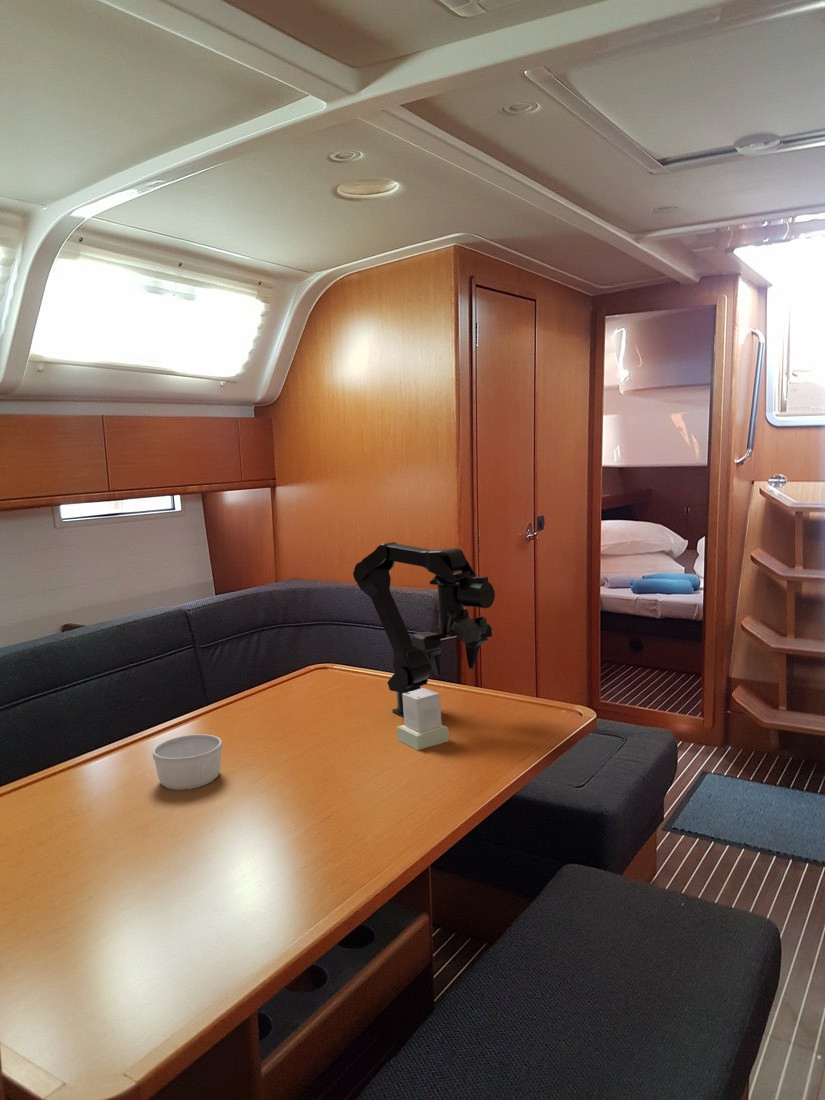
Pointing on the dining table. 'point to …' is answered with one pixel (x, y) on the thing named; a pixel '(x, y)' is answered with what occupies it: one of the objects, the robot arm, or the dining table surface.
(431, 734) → the base block
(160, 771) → the ramekin
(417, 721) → the skincare box
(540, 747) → the dining table surface
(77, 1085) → the dining table surface
